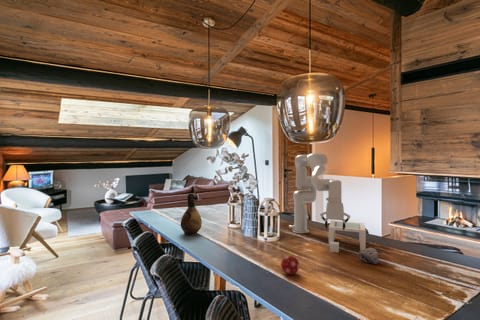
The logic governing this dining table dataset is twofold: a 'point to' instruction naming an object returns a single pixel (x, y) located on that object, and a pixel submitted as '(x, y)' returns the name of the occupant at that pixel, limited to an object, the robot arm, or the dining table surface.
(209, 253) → the dining table surface
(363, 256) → the pumice stone
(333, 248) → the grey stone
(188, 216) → the ceramic jug
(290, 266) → the christmas ornament
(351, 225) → the trapdoor
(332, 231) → the frame
